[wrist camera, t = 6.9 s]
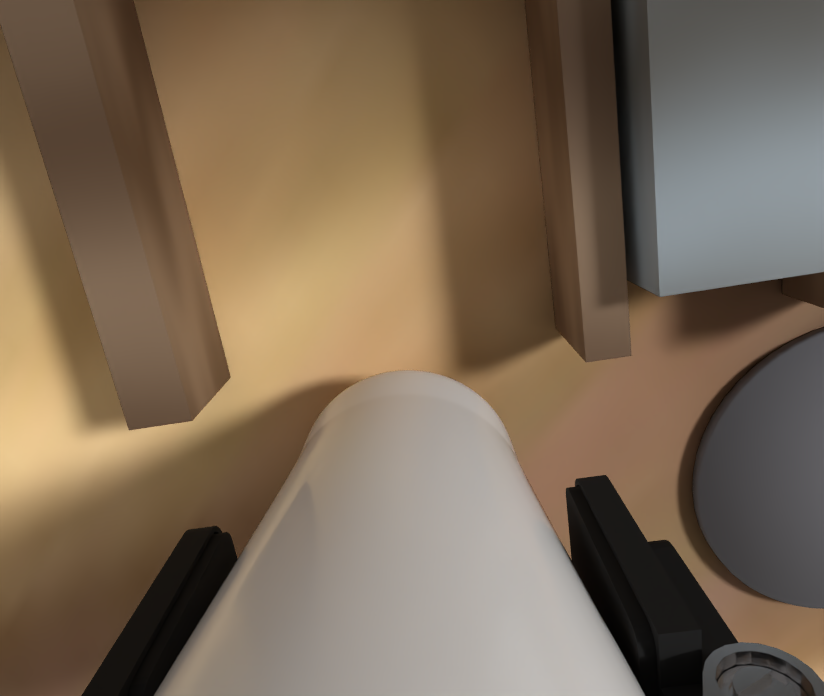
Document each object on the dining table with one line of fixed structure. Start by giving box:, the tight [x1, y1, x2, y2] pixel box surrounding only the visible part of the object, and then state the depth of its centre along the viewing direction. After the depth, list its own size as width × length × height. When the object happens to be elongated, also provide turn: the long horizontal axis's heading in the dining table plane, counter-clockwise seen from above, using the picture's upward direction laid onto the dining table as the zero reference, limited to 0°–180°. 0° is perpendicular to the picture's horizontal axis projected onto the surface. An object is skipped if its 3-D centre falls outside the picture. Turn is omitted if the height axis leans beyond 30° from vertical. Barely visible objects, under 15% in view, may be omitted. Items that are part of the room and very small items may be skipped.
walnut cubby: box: [0, 0, 824, 430], centre depth 12 cm, size 13×18×5 cm
